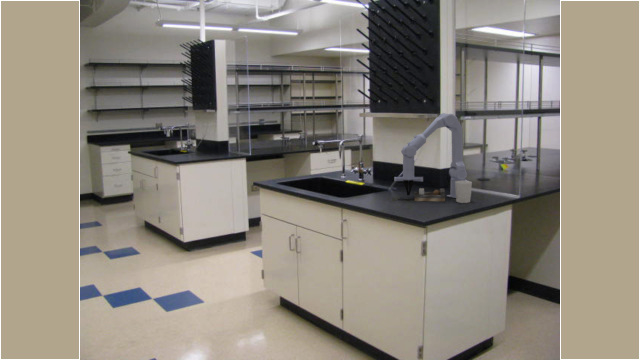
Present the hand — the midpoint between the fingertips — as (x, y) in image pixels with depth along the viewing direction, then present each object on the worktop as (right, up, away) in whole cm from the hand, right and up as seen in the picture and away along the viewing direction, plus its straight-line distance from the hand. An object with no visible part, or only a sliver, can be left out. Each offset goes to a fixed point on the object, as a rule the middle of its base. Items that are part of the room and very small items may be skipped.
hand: (408, 195), depth 263 cm
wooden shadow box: (+10, -2, -2) cm, 11 cm away
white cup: (+26, -3, -9) cm, 27 cm away
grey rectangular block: (+6, 0, -1) cm, 7 cm away
